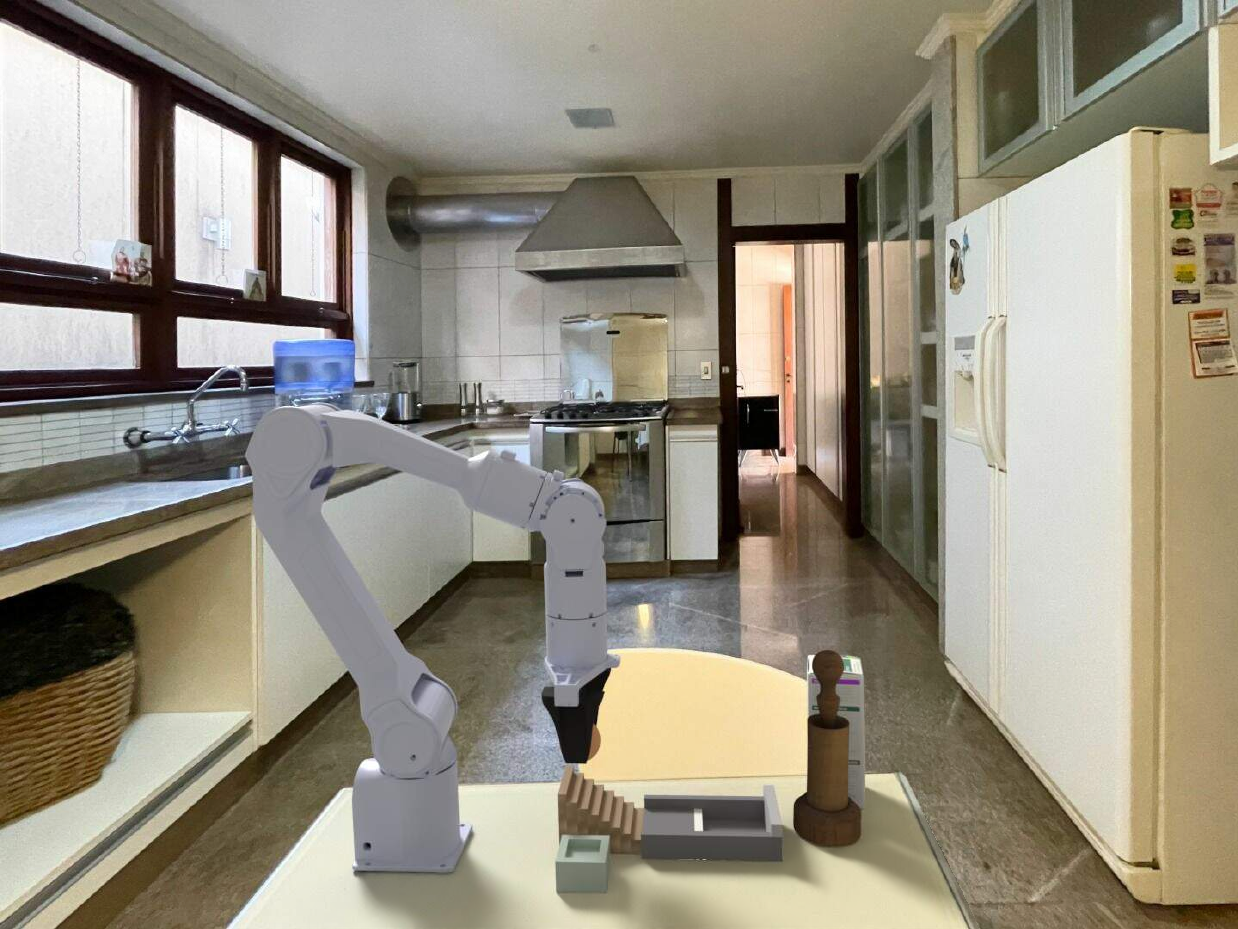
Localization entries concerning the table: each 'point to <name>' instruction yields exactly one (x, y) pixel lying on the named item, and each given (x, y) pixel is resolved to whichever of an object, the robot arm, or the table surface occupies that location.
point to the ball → (593, 742)
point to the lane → (712, 827)
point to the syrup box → (853, 711)
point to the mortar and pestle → (827, 766)
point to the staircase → (598, 813)
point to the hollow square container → (583, 864)
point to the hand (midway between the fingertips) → (579, 751)
